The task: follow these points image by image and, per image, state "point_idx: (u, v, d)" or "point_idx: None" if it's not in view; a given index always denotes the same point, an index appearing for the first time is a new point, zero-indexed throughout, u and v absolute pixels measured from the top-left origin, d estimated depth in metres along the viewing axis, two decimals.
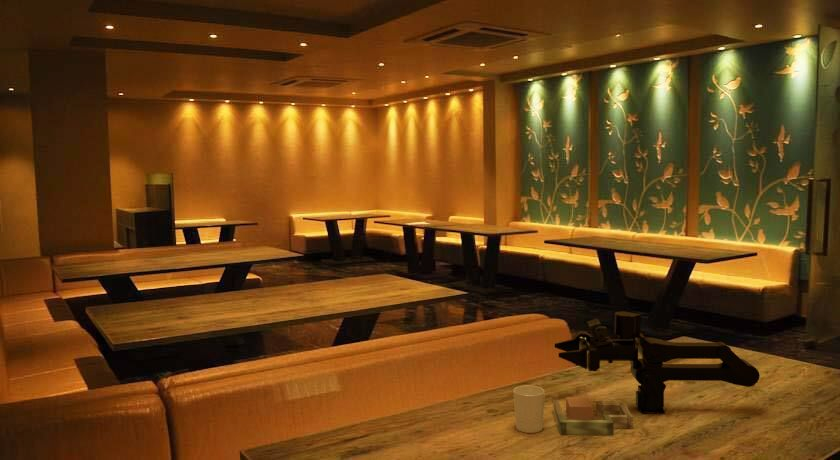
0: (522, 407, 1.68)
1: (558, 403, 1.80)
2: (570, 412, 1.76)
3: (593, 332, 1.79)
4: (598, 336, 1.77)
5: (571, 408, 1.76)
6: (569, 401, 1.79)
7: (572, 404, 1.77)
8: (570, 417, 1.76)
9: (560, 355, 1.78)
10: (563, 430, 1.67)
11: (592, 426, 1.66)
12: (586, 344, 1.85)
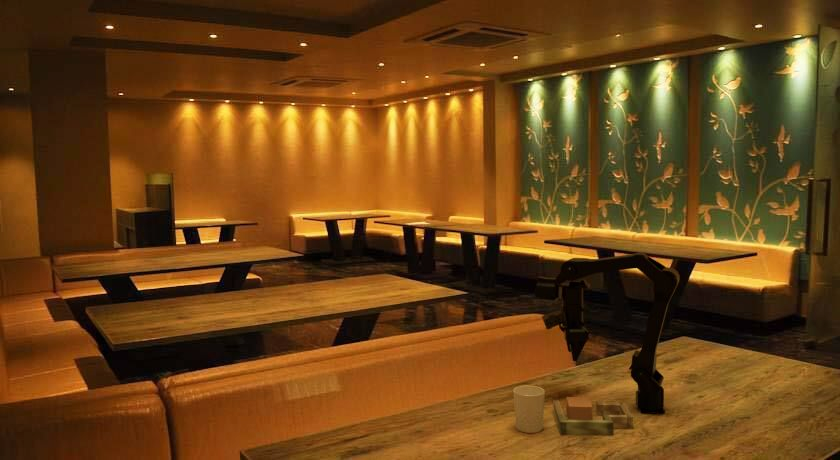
0: (522, 407, 1.68)
1: (558, 403, 1.80)
2: (569, 412, 1.76)
3: (553, 325, 1.88)
4: (556, 323, 1.86)
5: (570, 408, 1.76)
6: (569, 401, 1.79)
7: (572, 404, 1.77)
8: (569, 417, 1.76)
9: (575, 359, 1.86)
10: (563, 430, 1.67)
11: (592, 426, 1.66)
12: None
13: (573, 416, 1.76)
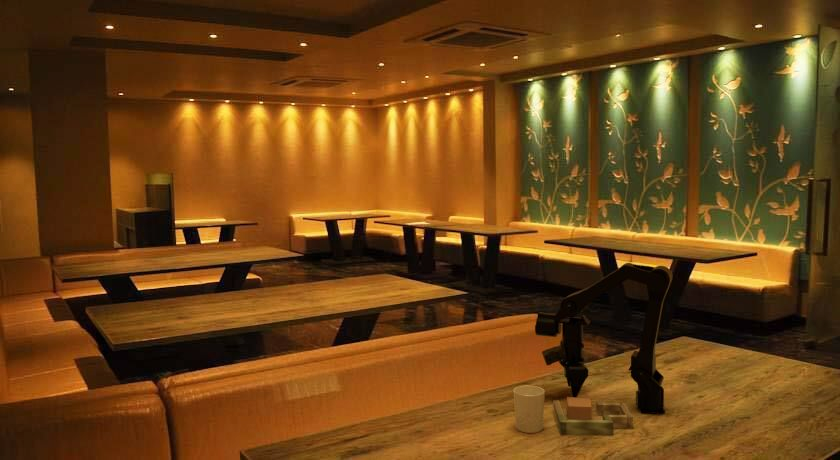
0: (522, 407, 1.68)
1: (558, 403, 1.80)
2: (569, 412, 1.76)
3: (553, 361, 1.89)
4: (556, 360, 1.87)
5: (570, 408, 1.76)
6: (569, 401, 1.79)
7: (571, 404, 1.77)
8: (569, 417, 1.76)
9: (574, 396, 1.87)
10: (563, 430, 1.67)
11: (592, 426, 1.66)
12: None
13: (572, 416, 1.76)
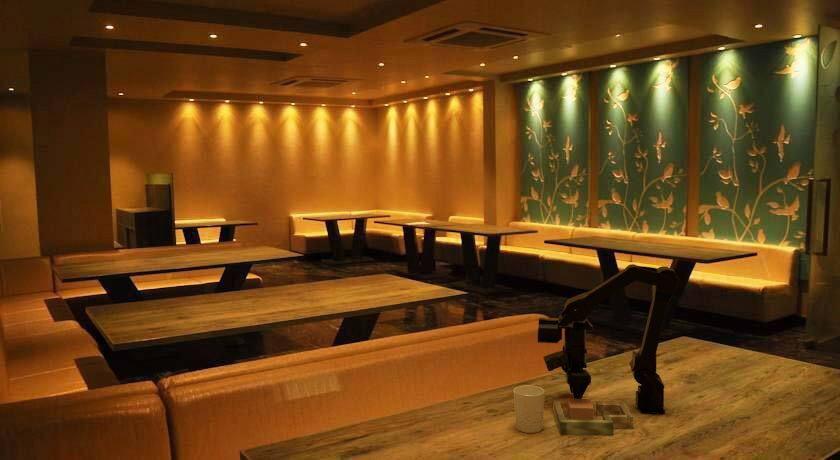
0: (522, 407, 1.68)
1: (558, 403, 1.80)
2: (571, 413, 1.74)
3: (555, 367, 1.84)
4: (558, 366, 1.82)
5: (572, 409, 1.74)
6: (570, 402, 1.78)
7: (573, 405, 1.76)
8: (571, 418, 1.74)
9: None
10: (563, 430, 1.67)
11: (592, 426, 1.66)
12: None
13: (574, 417, 1.74)
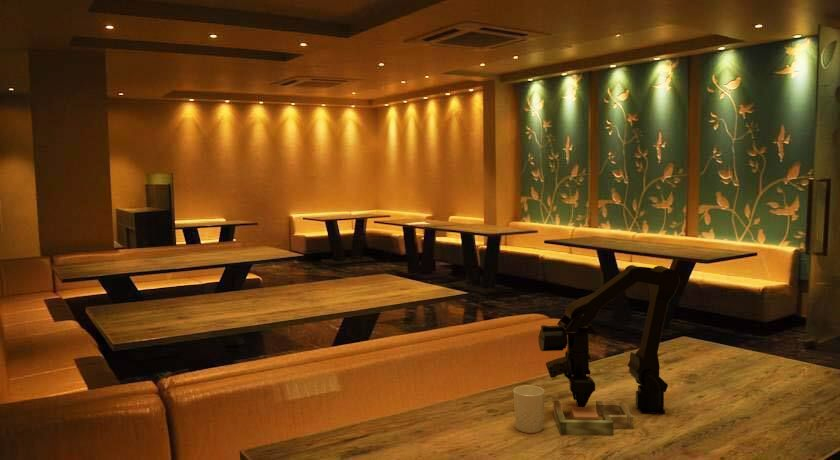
0: (522, 407, 1.68)
1: (558, 403, 1.80)
2: None
3: None
4: (561, 372, 1.76)
5: (576, 418, 1.68)
6: (574, 411, 1.72)
7: (577, 414, 1.70)
8: None
9: None
10: (563, 430, 1.67)
11: (592, 426, 1.66)
12: None
13: None
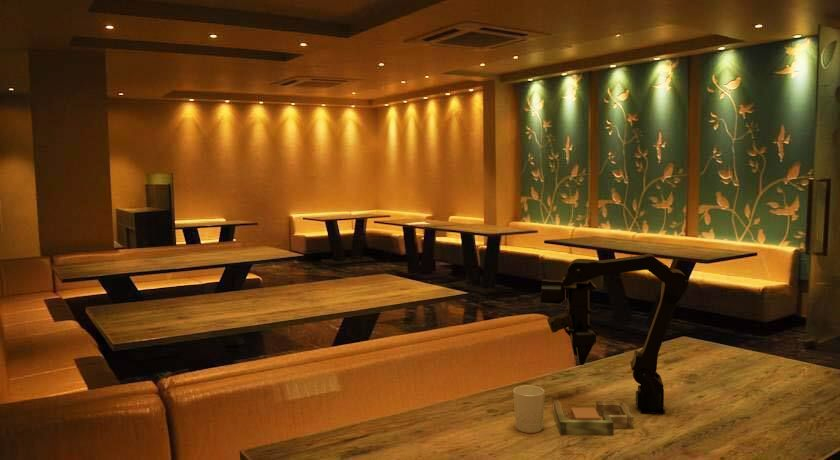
0: (522, 407, 1.68)
1: (558, 403, 1.80)
2: None
3: (559, 328, 1.83)
4: (562, 326, 1.81)
5: (577, 419, 1.68)
6: (575, 412, 1.72)
7: (578, 415, 1.69)
8: None
9: (581, 363, 1.81)
10: (563, 430, 1.67)
11: (592, 426, 1.66)
12: None
13: None
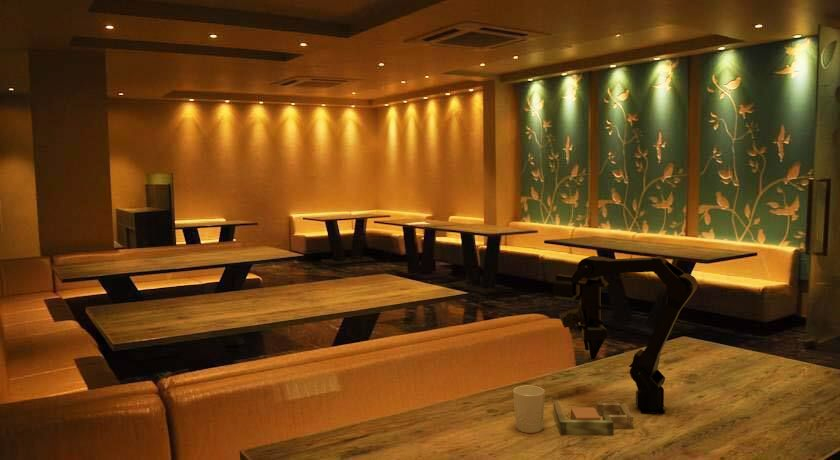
0: (522, 407, 1.68)
1: (558, 403, 1.80)
2: None
3: (571, 323, 1.87)
4: (574, 322, 1.85)
5: (578, 419, 1.68)
6: (575, 412, 1.72)
7: (578, 415, 1.69)
8: None
9: (593, 358, 1.85)
10: (563, 430, 1.67)
11: (592, 426, 1.66)
12: None
13: None
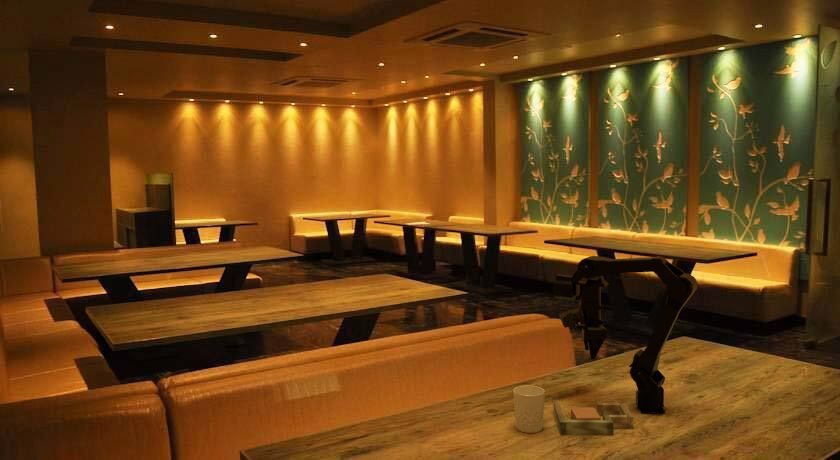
0: (522, 407, 1.68)
1: (558, 403, 1.80)
2: None
3: (571, 323, 1.87)
4: (574, 322, 1.85)
5: (578, 419, 1.68)
6: (575, 412, 1.72)
7: (579, 415, 1.69)
8: None
9: (593, 358, 1.85)
10: (563, 430, 1.67)
11: (592, 426, 1.66)
12: None
13: None
